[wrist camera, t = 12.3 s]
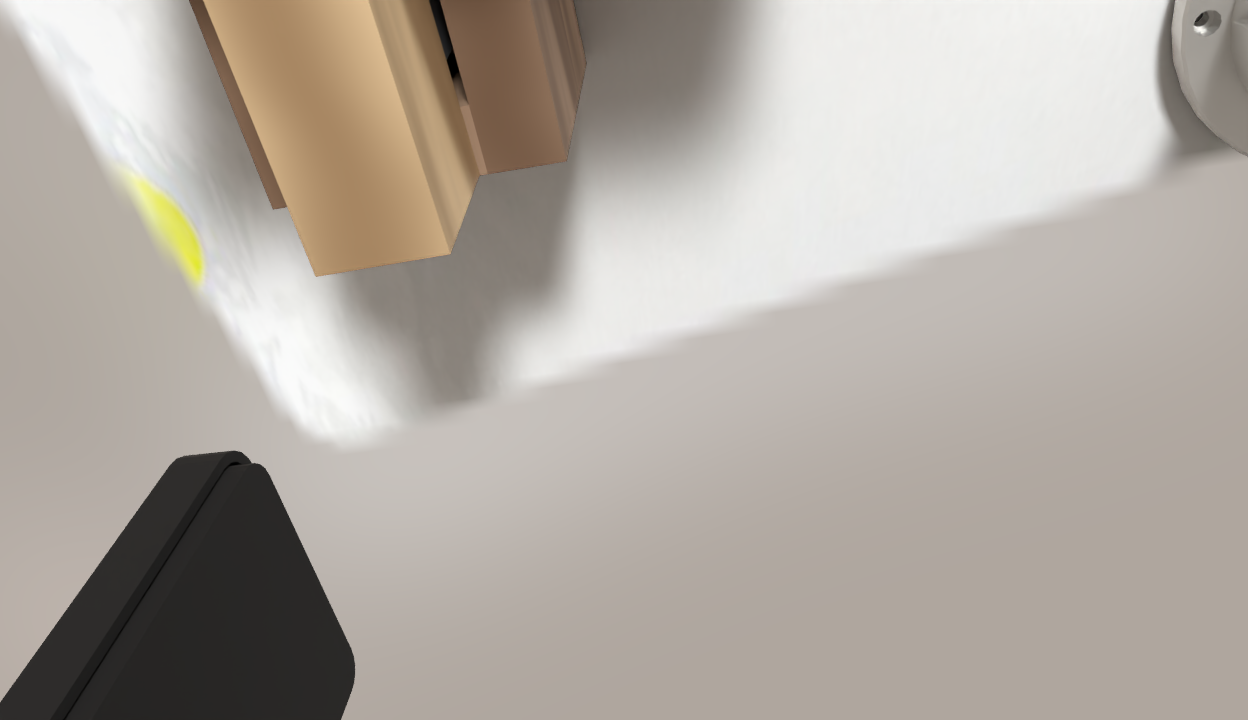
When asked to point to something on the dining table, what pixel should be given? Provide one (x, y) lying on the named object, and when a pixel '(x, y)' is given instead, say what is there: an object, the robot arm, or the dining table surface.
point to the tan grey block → (355, 123)
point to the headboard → (479, 82)
